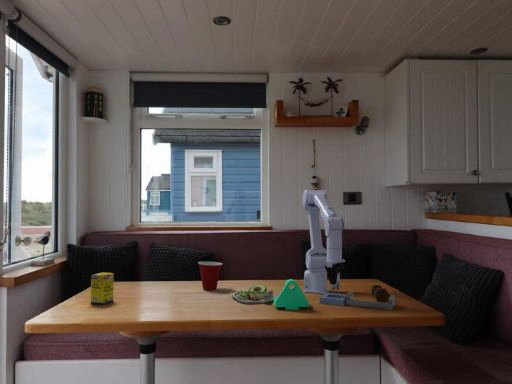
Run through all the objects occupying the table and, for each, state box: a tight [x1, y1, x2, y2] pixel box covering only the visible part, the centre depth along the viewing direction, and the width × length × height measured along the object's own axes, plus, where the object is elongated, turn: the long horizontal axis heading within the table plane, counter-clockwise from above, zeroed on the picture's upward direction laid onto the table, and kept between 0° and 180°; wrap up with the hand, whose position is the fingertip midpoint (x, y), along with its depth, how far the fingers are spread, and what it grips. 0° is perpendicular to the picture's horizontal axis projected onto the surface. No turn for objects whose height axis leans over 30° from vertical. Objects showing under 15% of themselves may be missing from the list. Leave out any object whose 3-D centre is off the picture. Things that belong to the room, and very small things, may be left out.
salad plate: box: [231, 284, 278, 305], centre depth 153 cm, size 19×18×5 cm
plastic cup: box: [197, 261, 223, 292], centre depth 171 cm, size 11×11×12 cm
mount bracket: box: [345, 290, 396, 311], centre depth 144 cm, size 16×8×4 cm, turn 64°
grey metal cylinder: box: [330, 273, 341, 291], centre depth 148 cm, size 3×3×6 cm
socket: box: [319, 292, 347, 307], centre depth 148 cm, size 9×9×2 cm
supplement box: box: [90, 272, 115, 306], centre depth 147 cm, size 6×6×11 cm
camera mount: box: [273, 278, 310, 311], centre depth 141 cm, size 12×8×10 cm, turn 93°
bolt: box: [370, 284, 391, 303], centre depth 156 cm, size 6×5×15 cm
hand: (334, 283), depth 148 cm, fingers closed on grey metal cylinder, 3 cm apart
